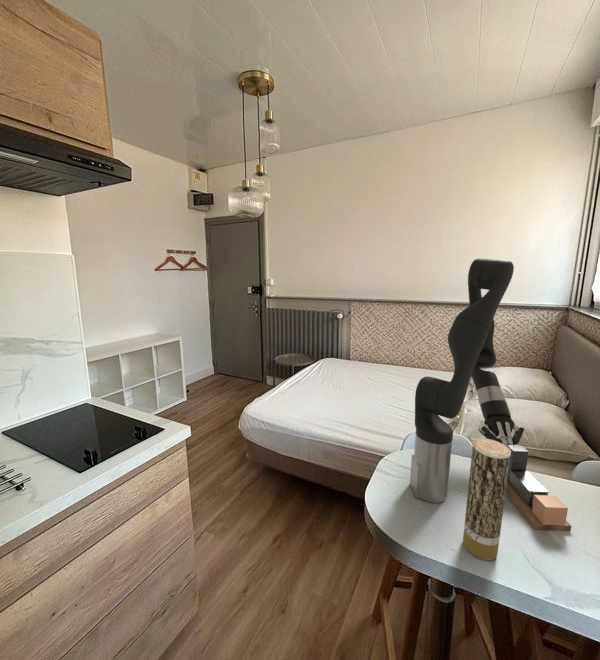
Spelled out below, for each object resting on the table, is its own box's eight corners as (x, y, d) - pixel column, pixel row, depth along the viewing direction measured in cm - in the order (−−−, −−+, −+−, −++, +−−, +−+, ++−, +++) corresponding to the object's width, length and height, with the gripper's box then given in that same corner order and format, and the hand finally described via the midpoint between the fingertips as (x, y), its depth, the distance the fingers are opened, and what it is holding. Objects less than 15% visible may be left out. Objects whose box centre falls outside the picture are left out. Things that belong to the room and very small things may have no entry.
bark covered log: (487, 536, 73) (499, 439, 68) (503, 563, 66) (518, 457, 61) (457, 534, 73) (467, 437, 69) (470, 560, 67) (482, 455, 62)
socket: (543, 524, 74) (545, 507, 73) (531, 511, 78) (534, 495, 77) (565, 525, 74) (568, 508, 73) (552, 512, 78) (555, 495, 77)
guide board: (535, 529, 74) (536, 524, 74) (490, 475, 94) (491, 471, 94) (570, 531, 74) (571, 525, 74) (518, 476, 94) (518, 472, 93)
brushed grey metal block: (542, 520, 75) (548, 483, 73) (503, 476, 91) (507, 445, 89) (560, 521, 75) (566, 484, 73) (517, 476, 91) (521, 445, 89)
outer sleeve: (527, 506, 80) (529, 491, 79) (508, 485, 88) (510, 471, 87) (546, 506, 80) (548, 491, 79) (525, 485, 87) (527, 471, 87)
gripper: (476, 398, 97) (493, 456, 88) (520, 399, 96) (542, 458, 87) (467, 406, 104) (481, 461, 94) (508, 407, 103) (527, 463, 93)
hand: (510, 460), depth 91 cm, fingers closed
